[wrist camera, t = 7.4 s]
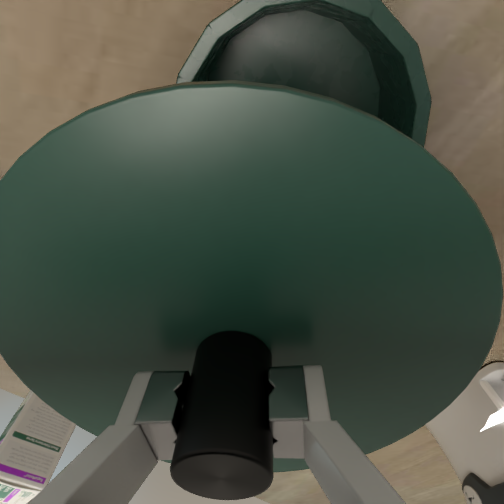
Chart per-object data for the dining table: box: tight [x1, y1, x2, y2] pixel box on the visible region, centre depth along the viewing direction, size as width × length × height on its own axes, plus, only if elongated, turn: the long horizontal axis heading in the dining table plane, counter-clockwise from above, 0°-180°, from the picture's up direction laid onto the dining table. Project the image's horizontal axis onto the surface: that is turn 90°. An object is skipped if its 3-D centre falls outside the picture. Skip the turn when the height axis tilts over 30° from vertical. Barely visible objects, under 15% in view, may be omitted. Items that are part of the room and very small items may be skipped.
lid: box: [0, 80, 503, 500], centre depth 10 cm, size 16×16×5 cm
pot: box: [176, 0, 431, 148], centre depth 22 cm, size 15×15×8 cm
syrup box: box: [0, 390, 76, 504], centre depth 37 cm, size 6×6×14 cm
